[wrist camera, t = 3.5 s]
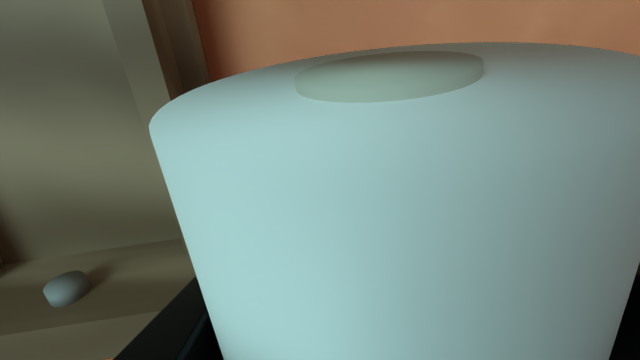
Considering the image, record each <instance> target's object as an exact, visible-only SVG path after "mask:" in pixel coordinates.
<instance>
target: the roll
mask: <svg viewBox="0 0 640 360" xmlns="http://www.w3.org/2000/svg"><path fill="white" fill-rule="evenodd" d="M149 131H150V136H151V139H152V142H153V145H154V148H155V151H156V154H157V158H158V161H159V164H160V167H161V170H162V173H163V176H164V179H165V182H166V185H167V188H168V191H169V194H170V197H171V200H172V203H173V206H174V209H175V212H176V215H177V218H178V222H179V225H180V228H181V231H182V234H183V237H184V240H185V243H186V246H187V249H188V252H189V255H190V258H191V261H192V264H193V267H194V270H195V273H196V276H197V279H198V282H199V285H200V289H201V292H202V295H203V298H204V301H205V304H206V307H207V310H208V313H209V316H210V319H211V322H212V325H213V328H214V331H215V334H216V337H217V340H218V343H219V346H220V349H221V353H222V356H223V359H224V360H609V357H610V354H611V351H612V348H613V345H614V341H615V338H616V335H617V332H618V329H619V326H620V322H621V319H622V316H623V313H624V310H625V307H626V304H627V300H628V297H629V294H630V291H631V288H632V285H633V282H634V278H635V275H636V272H637V269H638V266H639V263H640V56H637V55H633V54H628V53H624V52H618V51H612V50H606V49H600V48H591V47H583V46H573V45H561V44H545V43H518V42H472V43H443V44H425V45H412V46H399V47H388V48H379V49H369V50H361V51H353V52H345V53H338V54H332V55H325V56H319V57H313V58H307V59H302V60H296V61H291V62H286V63H281V64H277V65H272V66H268V67H263V68H259V69H255V70H251V71H247V72H244V73H240V74H237V75H233V76H230V77H226V78H223V79H220V80H217V81H214V82H211V83H209V84H206V85H203V86H201V87H198V88H196V89H193V90H191V91H189V92H187V93H185V94H183V95H181V96H179V97H177V98H175V99H174V100H172V101H170V102H168V103H167V104H166V105H164V106H163V107H162V108H161V109H159V110H158V111H157V112H156V114H155V115H154V116H153V117H152V119H151V121H150V124H149Z"/></svg>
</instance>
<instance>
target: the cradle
mask: <svg viewBox="0 0 640 360" xmlns="http://www.w3.org/2000/svg"><path fill="white" fill-rule="evenodd" d="M209 83H211V81H210V76H209V72H208V68H207V64H206V60H205V55H204V51H203V47H202V43H201V39H200V34H199V30H198V26H197V22H196V18H195V13H194V9H193V5H192V1H191V0H0V360H102V359H109V358H115V357H116V356H117V355H118V354H119V353H120V352H121V351H122V350H123V349H124V348H125V347H126V346H127V345H128V344H129V343H130V342H131V341H132V340H133V339H134V338H135V337H136V336H137V335H138V334H139V333H140V332H141V331H142V330H143V329H144V328H145V327H146V326H147V324H148V323H149V322H150V321H151V320H152V319H153V318H154V317H155V316H156V315H157V314H158V313H159V312H160V311H161V310H162V309H163V308H164V307H165V306H166V305H167V304H168V303H169V302H170V301H171V300H172V299H173V298H174V297H175V296H176V295H177V294H178V293H179V292H180V291H181V290H182V289H183V288H184V287H185V286H186V285H187V284H188V283H189V282H190V281H191V280H192V279H193V278H194V277H195V276H196V273H195V270H194V267H193V264H192V261H191V258H190V255H189V252H188V249H187V246H186V243H185V240H184V237H183V234H182V231H181V228H180V225H179V222H178V218H177V215H176V212H175V209H174V206H173V203H172V200H171V197H170V194H169V191H168V188H167V185H166V182H165V179H164V176H163V173H162V170H161V167H160V164H159V161H158V158H157V154H156V151H155V148H154V145H153V142H152V139H151V136H150V131H149V124H150V121H151V119H152V117H153V116H154V115H155V114H156V112H157V111H158V110H159V109H161V108H162V107H163V106H164V105H166V104H167V103H168V102H170V101H172V100H174V99H175V98H177V97H179V96H181V95H183V94H185V93H187V92H189V91H191V90H193V89H196V88H198V87H201V86H203V85H206V84H209Z"/></svg>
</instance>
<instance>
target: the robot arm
mask: <svg viewBox="0 0 640 360" xmlns="http://www.w3.org/2000/svg"><path fill="white" fill-rule="evenodd" d="M113 360H224V359H223V356H222V353H221V349H220V346H219V343H218V340H217V337H216V334H215V331H214V328H213V325H212V322H211V319H210V316H209V313H208V310H207V307H206V304H205V301H204V298H203V295H202V292H201V289H200V285H199V282H198V279H197V276H195V277H194V278H193V279H192V280H191V281H190V282H189V283H188V284H187V285H186V286H185V287H184V288H183V289H182V290H181V291H180V292H179V293H178V294H177V295H176V296H175V297H174V298H173V299H172V300H171V301H170V302H169V303H168V304H167V305H166V306H165V307H164V308H163V309H162V310H161V311H160V312H159V313H158V314H157V315H156V316H155V317H154V318H153V319H152V320H151V321H150V322H149V323H148V324H147V326H146V327H145V328H144V329H143V330H142V331H141V332H140V333H139V334H138V335H137V336H136V337H135V338H134V339H133V340H132V341H131V342H130V343H129V344H128V345H127V346H126V347H125V348H124V349H123V350H122V351H121V352H120V353H119V354H118V355H117V356H116V357H115V358H114V359H113ZM609 360H640V263H639V266H638V269H637V272H636V275H635V278H634V282H633V285H632V288H631V291H630V294H629V297H628V300H627V304H626V307H625V310H624V313H623V316H622V319H621V322H620V326H619V329H618V332H617V335H616V338H615V341H614V345H613V348H612V351H611V354H610V357H609Z"/></svg>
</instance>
